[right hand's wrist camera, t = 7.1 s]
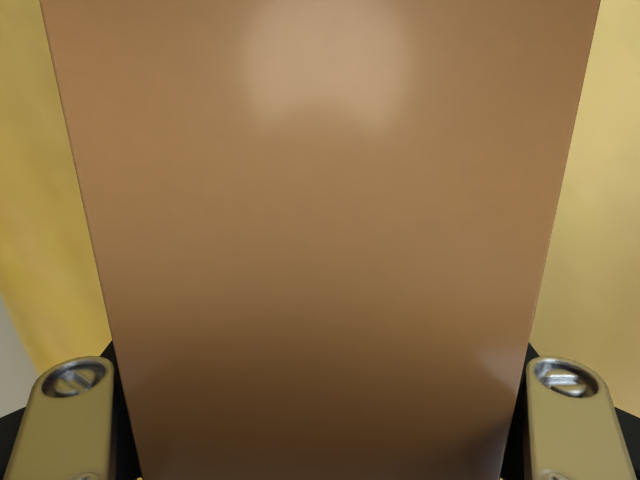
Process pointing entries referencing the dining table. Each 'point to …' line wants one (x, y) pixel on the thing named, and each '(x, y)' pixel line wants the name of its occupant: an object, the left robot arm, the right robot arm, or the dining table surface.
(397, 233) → the post
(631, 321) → the dining table surface
